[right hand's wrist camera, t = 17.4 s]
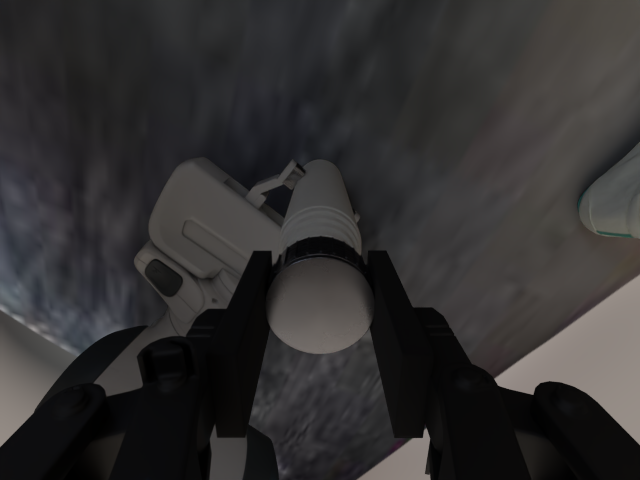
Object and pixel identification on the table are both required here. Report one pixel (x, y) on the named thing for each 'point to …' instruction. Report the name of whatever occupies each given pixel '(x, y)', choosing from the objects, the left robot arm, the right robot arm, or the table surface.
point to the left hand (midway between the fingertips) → (326, 187)
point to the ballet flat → (614, 200)
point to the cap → (319, 296)
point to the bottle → (320, 208)
